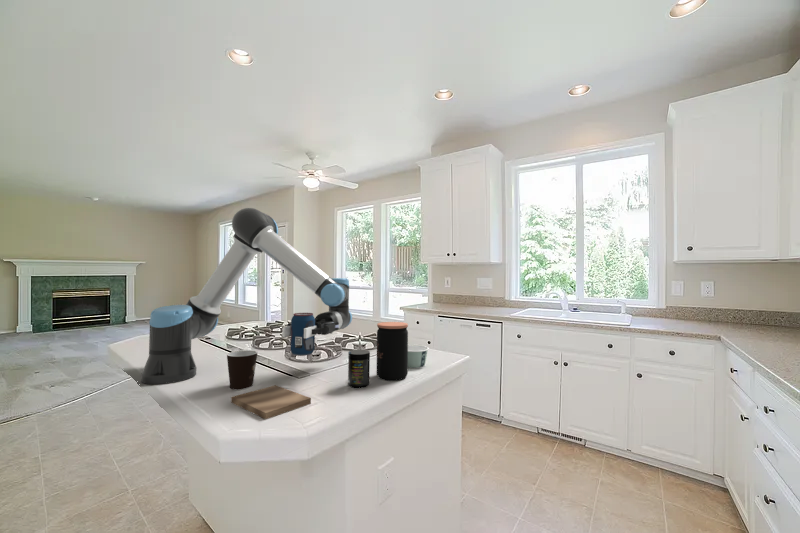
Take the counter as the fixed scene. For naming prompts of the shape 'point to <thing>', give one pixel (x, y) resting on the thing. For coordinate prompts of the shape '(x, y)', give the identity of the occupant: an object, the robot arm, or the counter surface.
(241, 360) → the coffee mug
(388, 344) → the coffee jar
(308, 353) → the soda can
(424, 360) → the food container
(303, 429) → the counter surface
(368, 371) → the supplement container
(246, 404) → the walnut board
